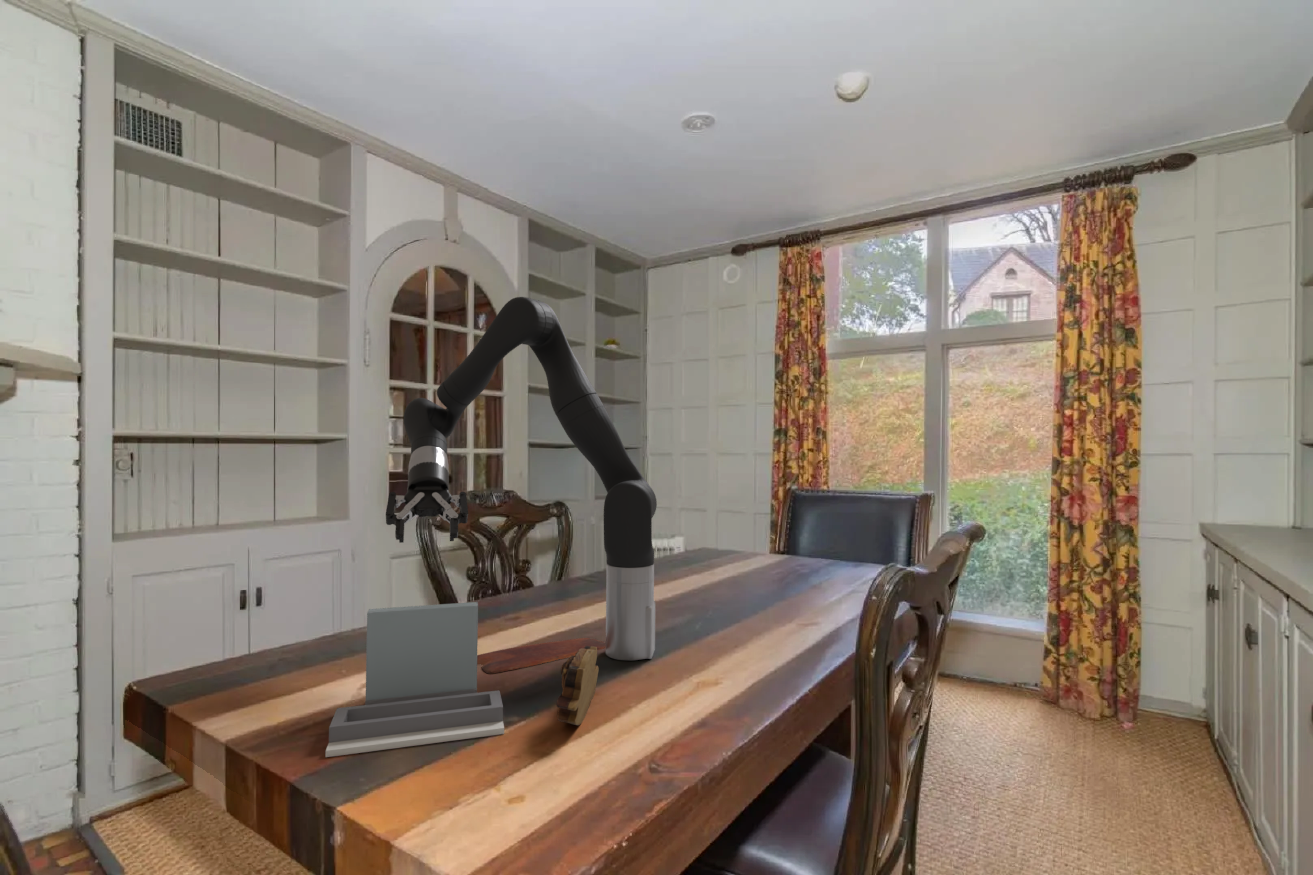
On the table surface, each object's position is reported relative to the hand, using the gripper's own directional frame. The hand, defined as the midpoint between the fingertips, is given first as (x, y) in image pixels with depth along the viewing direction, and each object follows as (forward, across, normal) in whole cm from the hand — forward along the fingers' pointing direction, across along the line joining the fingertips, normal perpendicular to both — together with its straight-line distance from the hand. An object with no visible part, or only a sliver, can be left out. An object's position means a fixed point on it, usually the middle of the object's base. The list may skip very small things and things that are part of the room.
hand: (427, 539), depth 112 cm
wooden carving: (+37, +21, -4) cm, 43 cm away
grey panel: (+25, 0, +8) cm, 26 cm away
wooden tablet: (+15, +22, +18) cm, 32 cm away
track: (+34, 0, -1) cm, 34 cm away
